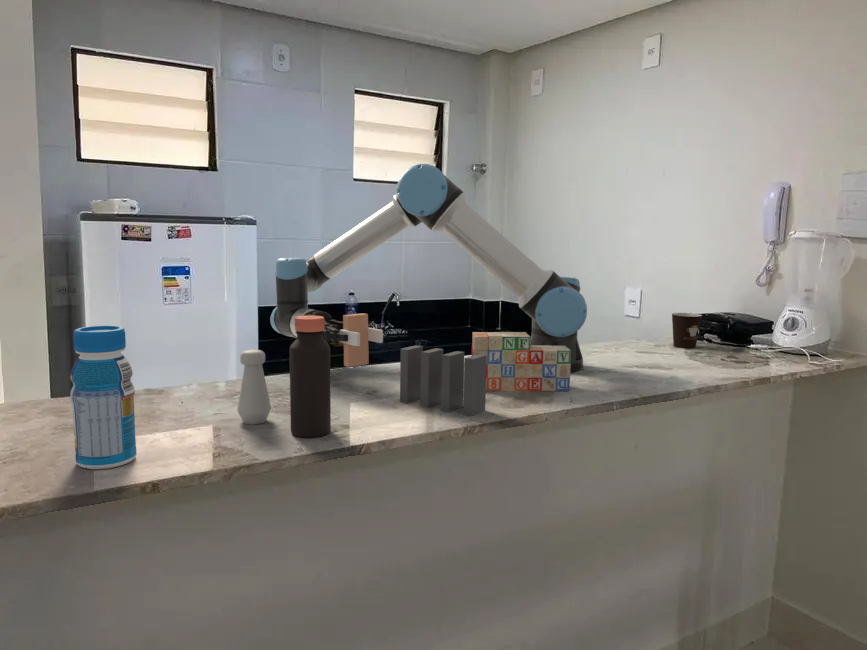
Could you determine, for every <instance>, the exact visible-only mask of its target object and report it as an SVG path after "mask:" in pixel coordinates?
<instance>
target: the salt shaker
mask: <svg viewBox="0 0 867 650" xmlns="http://www.w3.org/2000/svg"><path fill="white" fill-rule="evenodd" d="M239 360H240V361H239V362H240V364H242V365H243V373H242V380H241V385H240V392H239V397H238V402H237V403H238V404H237V413H238V416H240V419H241V420H242V422H243V424H244V425H252V426H254V425H260V424H263V423H265V422H266V421H267V419H268V417H269V414H270V413H271V409H272V405H271V402H270V396H269V391H268V386H267V383H266V377H265V372H264V368H263V367H264V366H263V364H264V363H265V361H266V354H265V352H264V350H261V349H246V350H243V351H242V352H241V354H240V357H239Z"/></svg>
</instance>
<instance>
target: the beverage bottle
mask: <svg viewBox="0 0 867 650" xmlns="http://www.w3.org/2000/svg"><path fill="white" fill-rule="evenodd" d="M72 338H73V349H74V351H75V353H76V354H79V357H77V359H76V360H75V362H74V364H73V366H72V368H71V370H70V374H69V375H70V377H69V378H70V381H71V382H72V388H71V390H70V392H69V393H70V401H71V406H72V407H71V408H72V420H73V421H72V422H73V432H74V433H73V435H74V448H75V462H76V464H77V466H78V467H80V468H83V469H86V468H87V469H88V470H106V469H113V468H117V467H121V466H124V465H126V464H130V462H132V461H133V460H134V459H135V458H136V456H137V454H138V453H137V445H136V444H137V443H136V441H137V439H136V419H135V418H136V417H135V401H134V399H135V397H134V396H135V392H136V391H135V386H134V383H132V376H133V375H134V374H133V369H132V366H131V364H130V362H129V360H128V359H127V358H126V356H125V355H123V353H122V352H124V351H125V349H126V346H127V343H126V331H125V328H124V327H123V326H118V325H93V326H85V327H84V326H83V327H79V328H76V329H74V330H73V337H72Z"/></svg>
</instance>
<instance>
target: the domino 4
mask: <svg viewBox="0 0 867 650" xmlns="http://www.w3.org/2000/svg"><path fill="white" fill-rule="evenodd" d="M486 363H487V355H482V354H477V355H474V356H472V355H471V356H467V357H464V390H463V406H462V408H463V410H462V411H463V412H462V413H463V414H462V415H463V416H467V415H468V416H469V417H473V416H475V415H477V414H480V413H482V412H484V411H486V394H487V393H486V391H487V390H486Z"/></svg>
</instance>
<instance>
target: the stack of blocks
mask: <svg viewBox="0 0 867 650" xmlns="http://www.w3.org/2000/svg"><path fill="white" fill-rule="evenodd" d="M471 337H472V338H471V339H472V343H471V344H472V345H471V356H474V355H477V354H482V355H487V363H486V391H499V392H500V391H503V392H505V391H508V392H510V391H511V392H512V391H513V392H516V391H517V392H518V391H522V392H524V391H529V392H532V391H533V392H534V391H535V392H537V391H538V392H539V391H540V392H569V391H570V383H571V372H570V367H571V364H570V362H571V350H570V349H568V348H567V347H566V346H551V345H530V339H531V336H530V335H529V334H528V333H527V332H526V331H522V332H521V331H516V332H515V331H499V332H498V331H493V332H492V331H490V332H488V331H481V332H480V331H475V332H474V331H472V336H471Z"/></svg>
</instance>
